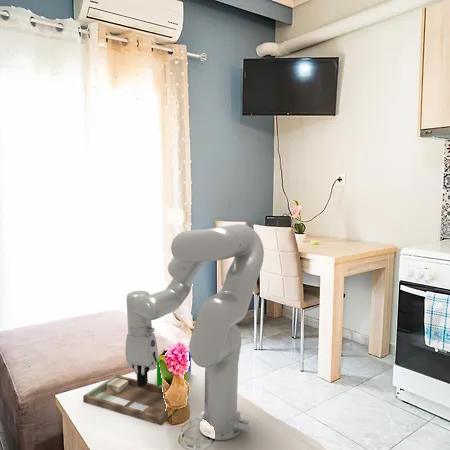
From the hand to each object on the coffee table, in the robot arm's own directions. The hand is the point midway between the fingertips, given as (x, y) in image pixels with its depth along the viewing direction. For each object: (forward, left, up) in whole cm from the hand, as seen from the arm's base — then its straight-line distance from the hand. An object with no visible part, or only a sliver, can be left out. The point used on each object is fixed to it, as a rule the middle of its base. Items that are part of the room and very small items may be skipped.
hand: (142, 384), depth 132 cm
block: (+10, 0, -4) cm, 11 cm away
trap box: (0, +3, -6) cm, 6 cm away
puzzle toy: (-3, -15, -6) cm, 16 cm away
